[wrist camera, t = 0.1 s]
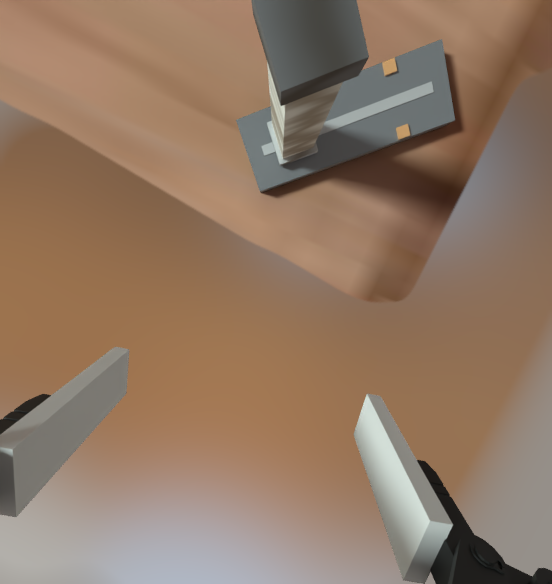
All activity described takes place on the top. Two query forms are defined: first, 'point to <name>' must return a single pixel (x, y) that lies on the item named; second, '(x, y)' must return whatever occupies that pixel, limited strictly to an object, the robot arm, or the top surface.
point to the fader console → (362, 116)
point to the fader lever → (307, 66)
